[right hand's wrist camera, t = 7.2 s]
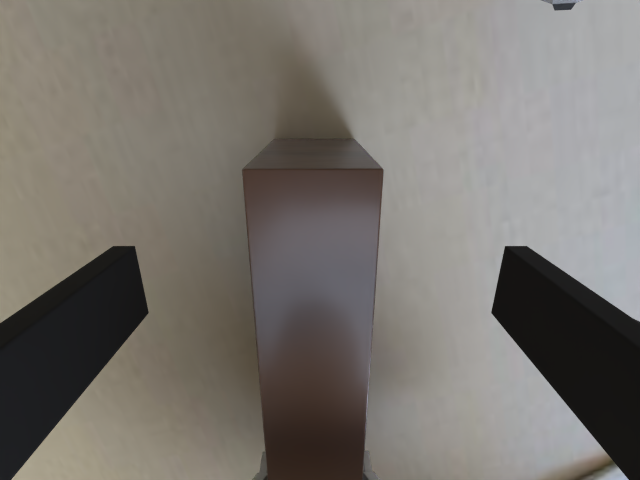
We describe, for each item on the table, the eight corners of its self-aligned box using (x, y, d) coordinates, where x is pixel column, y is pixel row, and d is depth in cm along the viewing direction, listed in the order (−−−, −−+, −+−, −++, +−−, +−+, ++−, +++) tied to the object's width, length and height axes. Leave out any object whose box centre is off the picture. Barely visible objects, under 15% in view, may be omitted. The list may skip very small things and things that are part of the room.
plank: (274, 138, 22) (241, 168, 12) (355, 138, 22) (383, 168, 12) (288, 440, 31) (276, 583, 22) (344, 439, 31) (355, 582, 22)
